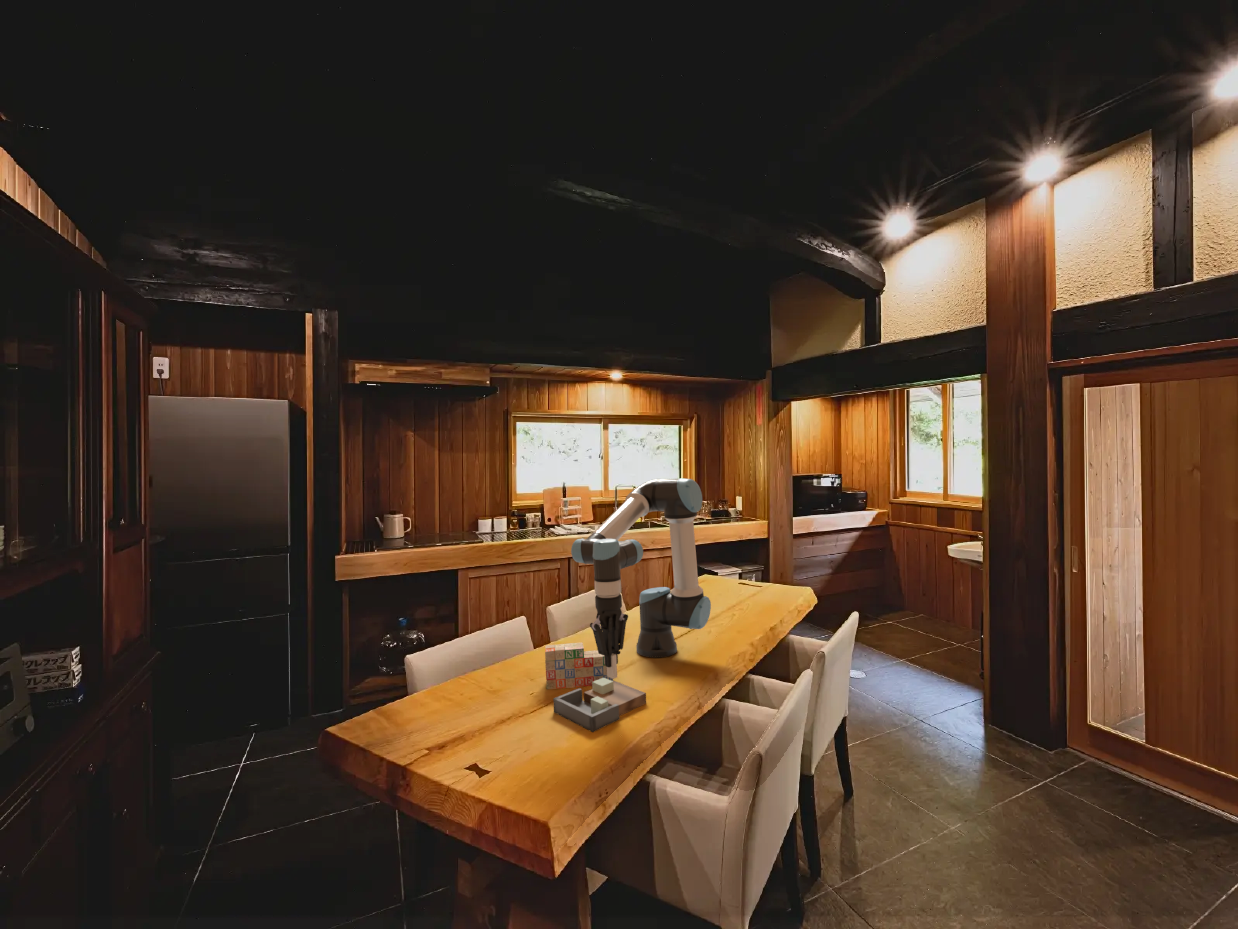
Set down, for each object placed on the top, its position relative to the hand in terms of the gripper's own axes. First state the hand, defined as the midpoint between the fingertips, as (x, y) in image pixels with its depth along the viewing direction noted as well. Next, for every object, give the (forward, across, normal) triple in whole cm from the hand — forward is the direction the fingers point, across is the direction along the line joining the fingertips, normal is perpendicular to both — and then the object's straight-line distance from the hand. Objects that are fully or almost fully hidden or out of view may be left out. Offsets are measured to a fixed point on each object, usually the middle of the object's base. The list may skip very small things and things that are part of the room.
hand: (612, 676), depth 155 cm
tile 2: (+7, +4, 0) cm, 8 cm away
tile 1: (+7, -3, -8) cm, 11 cm away
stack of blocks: (+11, -6, -23) cm, 26 cm away
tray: (+10, +7, -4) cm, 13 cm away
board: (+10, -4, -4) cm, 12 cm away
